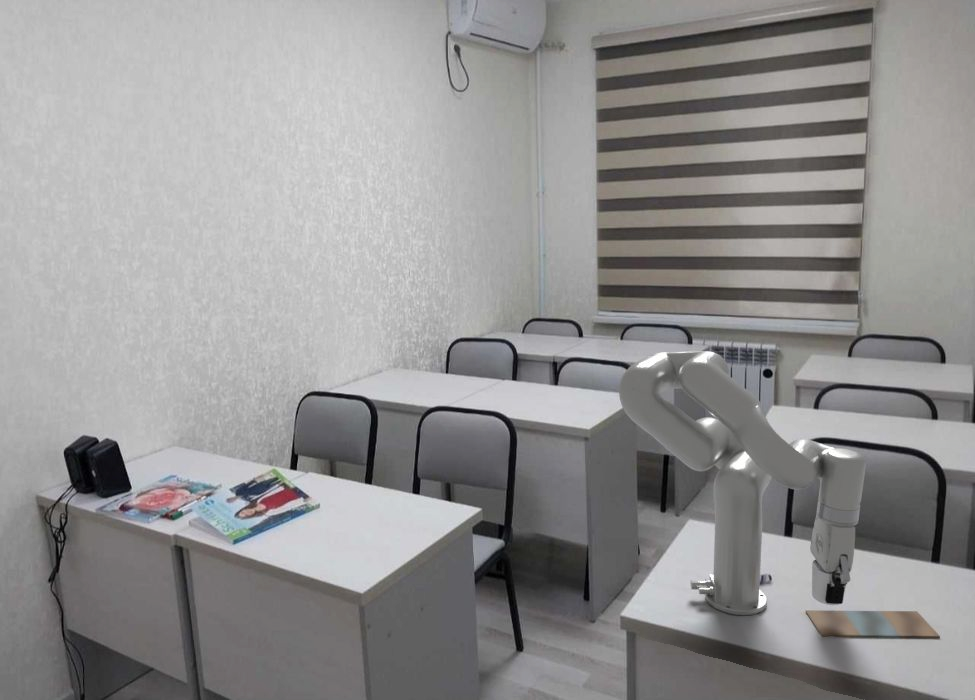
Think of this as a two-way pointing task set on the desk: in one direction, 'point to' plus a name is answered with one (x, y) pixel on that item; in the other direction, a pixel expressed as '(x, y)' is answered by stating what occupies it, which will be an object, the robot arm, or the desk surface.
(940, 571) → the desk surface
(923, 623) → the game board
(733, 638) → the desk surface
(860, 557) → the desk surface
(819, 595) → the white cup
